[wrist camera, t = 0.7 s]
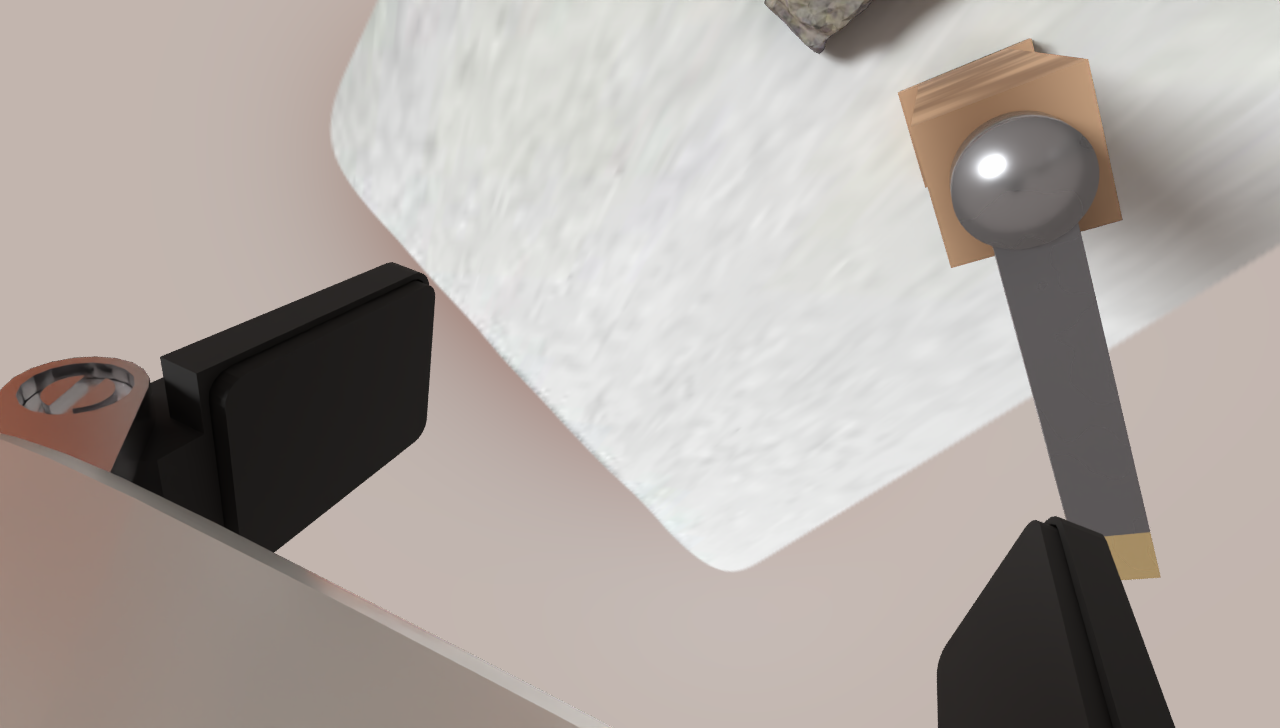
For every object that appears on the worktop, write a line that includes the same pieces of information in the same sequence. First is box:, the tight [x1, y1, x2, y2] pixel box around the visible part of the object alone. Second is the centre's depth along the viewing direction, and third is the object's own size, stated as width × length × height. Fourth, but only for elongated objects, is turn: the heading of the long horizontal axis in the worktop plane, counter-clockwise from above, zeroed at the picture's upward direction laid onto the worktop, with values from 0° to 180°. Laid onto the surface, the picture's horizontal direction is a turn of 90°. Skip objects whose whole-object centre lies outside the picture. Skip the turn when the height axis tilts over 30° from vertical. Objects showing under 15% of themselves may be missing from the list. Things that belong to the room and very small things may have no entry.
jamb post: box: [898, 39, 1122, 268], centre depth 26 cm, size 6×5×20 cm
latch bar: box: [949, 110, 1160, 580], centre depth 18 cm, size 13×3×2 cm, turn 25°
